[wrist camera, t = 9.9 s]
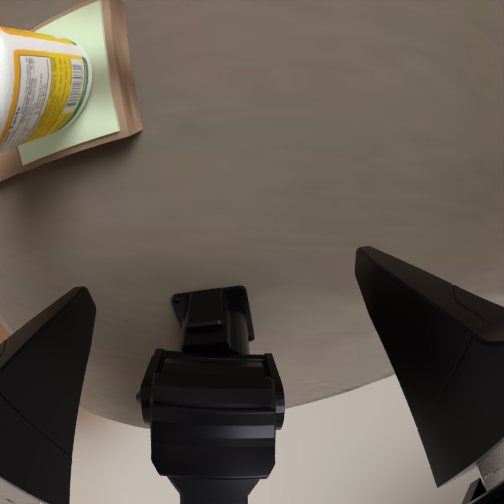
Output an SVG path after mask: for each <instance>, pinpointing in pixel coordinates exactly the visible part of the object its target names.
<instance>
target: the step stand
mask: <svg viewBox="0 0 504 504" xmlns="http://www.w3.org/2000/svg"><path fill="white" fill-rule="evenodd" d="M29 31H30V32H36V33H41V34H46V35H52V36H56V37H61V38H65V39H69V40H72V41H74V42H76V43H78V44H79V45H80V46H81V47H82V48H83V49H84V50H85V52H86V53H87V55H88V57H89V60H90V63H91V67H92V84H91V89H90V93H89V96H88V99H87V101H86V103H85V105H84V107H83V109H82V111H81V112H80V114H79V115H78V116H77V117H76V119H75V120H74V121H73V122H72V123H70V124H69V125H68V126H67V127H65V128H64V129H62V130H61V131H59V132H56V133H53V134H50V135H47V136H44V137H41V138H38V139H36V140H33V141H30V142H27V143H25V144H22V145H19V146H17V147H14V148H12V149H10V150H8V151H5V152H3V153H0V181H3V180H5V179H7V178H9V177H11V176H13V175H16V174H18V173H20V172H22V173H23V172H26V171H28V170H31V169H33V168H35V167H38V166H40V165H43V164H46V163H48V162H51V161H53V160H56V159H59V158H61V157H64V156H67V155H70V154H73V153H76V152H79V151H82V150H85V149H88V148H91V147H94V146H97V145H100V144H104V143H107V142H110V141H114V140H117V139H121V138H125V137H128V136H131V135H133V134H135V133H137V132H139V131H141V130H143V128H142V123H141V118H140V113H139V108H138V102H137V97H136V91H135V85H134V79H133V73H132V66H131V59H130V52H129V45H128V37H127V29H126V20H125V10H124V3H123V2H121V1H120V0H88V1H86V2H83V3H81V4H79V5H77V6H75V7H72V8H70V9H68V10H66V11H64V12H62V13H60V14H58V15H56V16H54V17H52V18H50V19H49V20H47V21H45V22H43V23H41V24H40V25H38V26H36V27H34V28H33V29H31V30H29Z"/></svg>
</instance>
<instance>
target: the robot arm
mask: <svg viewBox="0 0 504 504" xmlns="http://www.w3.org/2000/svg"><path fill="white" fill-rule="evenodd" d="M355 276H356V279H357V282H358V285H359V287H360V290H361V293H362V296H363V299H364V302H365V305H366V308H367V310H368V313H369V316H370V318H371V320H372V322H373V325H374V327H375V329H376V331H377V333H378V335H379V337H380V340H381V342H382V344H383V346H384V349H385V351H386V353H387V355H388V358H389V360H390V362H391V364H392V367H393V369H394V371H395V374H396V376H397V378H398V381H399V383H400V386H401V388H402V390H403V393H404V396H405V398H406V400H407V403H408V406H409V408H410V411H411V413H412V416H413V418H414V421H415V424H416V426H417V428H418V432H419V435H420V438H421V441H422V444H423V446H424V449H425V452H426V455H427V458H428V461H429V464H430V467H431V470H432V473H433V476H434V480H435V483H436V485H437V488H439V487H441V486H443V485H445V484H447V483H449V482H451V481H453V480H455V479H457V478H458V477H460V476H462V475H464V474H466V473H467V472H469V471H471V470H473V469H474V468H476V467H477V470H478V472H479V475H480V478H478V479H477V480H475V481H474V482H472V483H471V484H470V486H469V488H468V491H467V493H466V495H465V498H464V500H463V502H462V504H504V307H502V306H500V305H498V304H495V303H493V302H490V301H488V300H486V299H483V298H481V297H479V296H477V295H474V294H472V293H470V292H468V291H466V290H464V289H462V288H460V287H458V286H456V285H452V284H451V283H449V282H447V281H445V280H443V279H441V278H439V277H437V276H435V275H433V274H430V273H428V272H426V271H424V270H422V269H420V268H417V267H415V266H413V265H411V264H409V263H407V262H404V261H402V260H400V259H398V258H395V257H393V256H391V255H389V254H386V253H384V252H382V251H380V250H377V249H375V248H373V247H370V246H365V247H359V248H358V249H357V250H356V260H355ZM239 291H243V292H242V293H239ZM176 299H178V300H180V301H177V300H176ZM172 304H173V307H174V309H175V312H176V315H177V317H178V320H179V323H180V325H181V328H182V329H181V336H180V343H179V350H178V351H166V350H164V349H156V351H155V353H154V356H152V358H151V361H150V363H149V366H148V368H147V371H146V373H145V376H144V379H143V381H142V384H141V389H140V391H139V392H138V393H137V396H136V400H137V403H138V404H139V405H140V406H141V408H142V414H143V419H144V422H145V424H146V425H150V429H151V460H152V463H153V464H154V466H155V468H156V470H157V472H158V473H159V475H162V476H167V477H168V479H169V480H170V482H171V483H172V484H173V486H174V487H175V488H176V489H177V491H178V492H179V494H180V504H248V495H249V494H250V492H251V491H252V489H253V488H254V487H255V485H256V484H257V483H258V481H259V480H260V479H266V478H268V476H269V474H270V473H271V471H272V469H273V467H274V465H275V433H276V430H280V429H281V428H282V425H283V421H284V412H285V400H284V391H283V386H282V382H281V379H280V376H279V373H278V370H277V367H276V364H275V362H274V359H273V356H272V353H265V354H264V355H250V354H249V341H253V340H254V330H253V325H252V319H251V313H250V308H249V302H248V296H247V290H246V288H245V287H244V286H234V287H227V288H218V289H210V290H202V291H195V292H189V293H181V294H175V295H173V297H172ZM95 315H96V306H95V303H94V301H93V299H92V297H91V295H90V293H89V291H88V289H87V288H86V287H84V286H81V287H75V288H73V289H72V290H70V291H69V292H68V293H66V294H65V295H64V296H62V297H61V298H59V299H58V300H57V301H55V302H54V303H53V304H51V305H50V306H49V307H47V308H46V309H45V310H43V311H42V312H41V313H39V314H38V315H37V316H35V317H34V318H33V319H31V320H30V321H29V322H27V323H26V324H25V325H24V326H22V327H21V328H20V329H19V330H17V331H16V332H15V333H13V334H12V335H11V336H10V337H9V338H8V339H7V340H5V341H4V342H2V343H1V344H0V504H40V502H41V503H43V504H69V502H70V501H69V499H70V479H71V465H72V457H71V456H72V452H73V443H74V435H75V427H76V420H77V414H78V407H79V402H80V396H81V391H82V385H83V380H84V375H85V371H86V366H87V361H88V357H89V353H90V348H91V341H92V334H93V328H94V321H95ZM248 336H250V337H248Z"/></svg>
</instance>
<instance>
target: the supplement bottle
mask: <svg viewBox="0 0 504 504" xmlns="http://www.w3.org/2000/svg"><path fill="white" fill-rule="evenodd" d="M91 84H92V67H91V63H90V60H89V57H88V55H87V53H86V52H85V50H84V49H83V48H82V47H81V46H80V45H79V44H78V43H76V42H74V41H72V40H69V39H65V38H61V37H56V36H52V35H46V34H41V33H36V32H30V31H25V30H18V29H12V28H5V27H0V153H3V152H5V151H8V150H10V149H12V148H14V147H17V146H19V145H22V144H25V143H27V142H30V141H33V140H36V139H38V138H41V137H44V136H47V135H50V134H53V133H56V132H59V131H61V130H62V129H64V128H65V127H67V126H68V125H69V124H70V123H72V122H73V121H74V120H75V119H76V117H77V116H78V115H79V114H80V112H81V111H82V109H83V107H84V105H85V103H86V101H87V99H88V96H89V93H90V89H91Z"/></svg>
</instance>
